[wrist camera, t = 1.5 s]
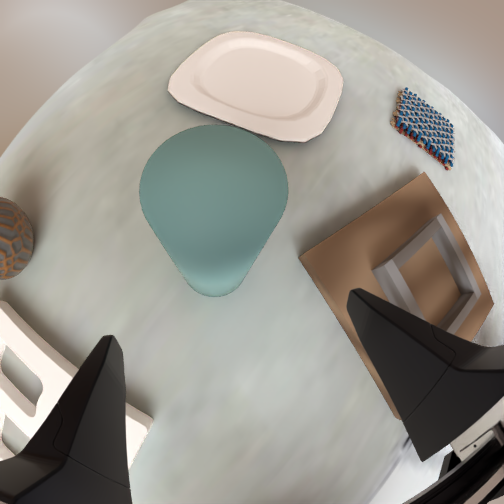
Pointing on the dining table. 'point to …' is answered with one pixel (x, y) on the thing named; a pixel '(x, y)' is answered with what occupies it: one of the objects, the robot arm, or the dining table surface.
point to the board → (403, 266)
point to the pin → (213, 203)
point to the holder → (47, 384)
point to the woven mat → (425, 127)
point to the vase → (14, 239)
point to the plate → (260, 85)
